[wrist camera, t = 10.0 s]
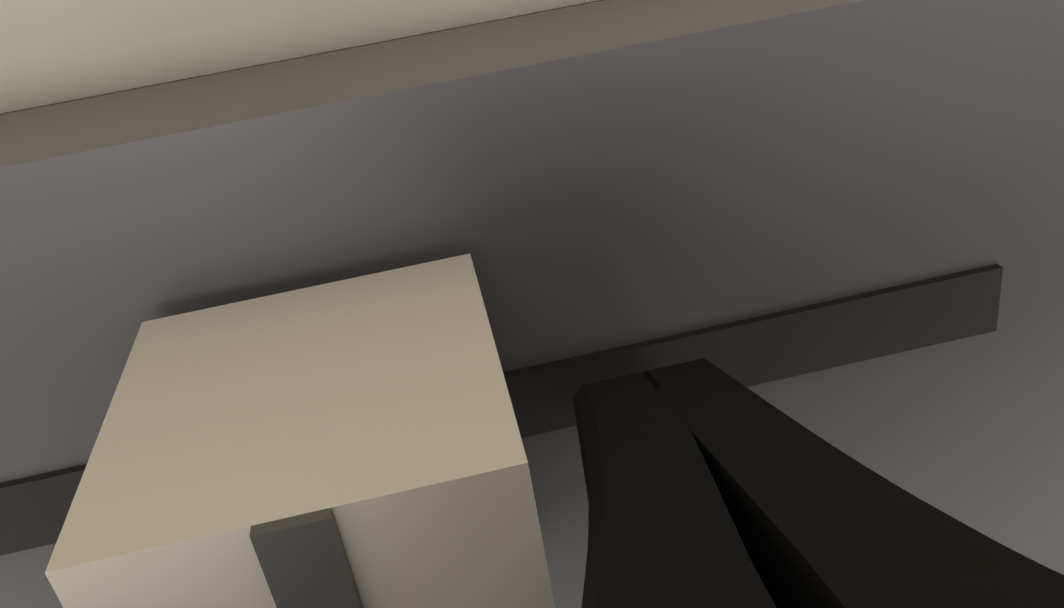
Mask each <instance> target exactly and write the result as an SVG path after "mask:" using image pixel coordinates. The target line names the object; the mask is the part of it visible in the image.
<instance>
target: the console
mask: <svg viewBox="0 0 1064 608" xmlns="http://www.w3.org/2000/svg"><path fill="white" fill-rule="evenodd" d="M465 254H470V255H471V258H472V262H473V266H474V269H475V273H476V276H477V280H478V284H479V287H480V291H481V294H482V298H483V302H484V305H485V309H486V313H487V316H488V320H489V323H490V327H491V331H492V334H493V338H494V341H495V345H496V349H497V352H498V356H499V360H500V363H501V367H502V370H503V374H504V378H505V381H506V385H507V389H508V392H509V396H510V399H511V403H512V407H513V410H514V414H515V417H516V421H517V425H518V428H519V432H520V436H521V439H522V443H523V446H524V450H525V454H526V457H527V461H528V465H529V471H530V476H531V481H532V487H533V492H534V497H535V502H536V508H537V513H538V518H539V524H540V529H541V534H542V540H543V545H544V550H545V556H546V561H547V566H548V572H549V577H550V582H551V587H552V593H553V598H554V603H555V608H582V598H583V589H584V579H585V570H586V560H587V547H588V512H589V503H588V496H587V490H586V483H585V476H584V470H583V463H582V456H581V449H580V443H579V436H578V429H577V423H576V416H575V409H574V403H573V397H574V396H575V394H576V393H577V392H578V391H579V389H580V388H581V387H582V386H583V385H584V384H589V383H593V382H598V381H602V380H607V379H611V378H616V377H620V376H625V375H630V374H634V373H639V372H643V371H648V370H652V369H657V368H661V367H666V366H670V365H675V364H680V363H684V362H689V361H693V360H698V359H702V358H705V359H706V360H708V361H709V362H711V363H712V364H714V365H715V366H717V367H718V368H719V369H721V370H722V371H724V372H725V373H727V374H728V375H730V376H731V377H733V378H734V379H735V380H737V381H738V382H740V383H741V384H743V385H744V386H746V387H747V388H749V389H750V390H751V391H753V392H754V393H756V394H757V395H759V396H760V397H762V398H763V399H764V400H766V401H767V402H769V403H770V404H772V405H773V406H775V407H776V408H778V409H779V410H780V411H782V412H783V413H785V414H786V415H788V416H789V417H791V418H792V419H794V420H795V421H797V422H798V423H800V424H801V425H803V426H804V427H806V428H807V429H809V430H810V431H812V432H813V433H815V434H816V435H818V436H819V437H821V438H822V439H824V440H825V441H827V442H828V443H830V444H831V445H833V446H834V447H836V448H837V449H839V450H841V451H842V452H844V453H845V454H847V455H849V456H850V457H852V458H853V459H855V460H857V461H858V462H860V463H861V464H863V465H864V466H866V467H868V468H869V469H871V470H872V471H874V472H876V473H877V474H879V475H881V476H882V477H884V478H885V479H887V480H889V481H890V482H892V483H894V484H896V485H897V486H899V487H901V488H902V489H904V490H906V491H907V492H909V493H911V494H912V495H914V496H916V497H917V498H919V499H921V500H923V501H924V502H926V503H928V504H930V505H932V506H933V507H935V508H937V509H939V510H941V511H942V512H944V513H946V514H948V515H950V516H951V517H953V518H955V519H957V520H959V521H960V522H962V523H964V524H966V525H968V526H969V527H971V528H973V529H975V530H977V531H978V532H980V533H982V534H984V535H986V536H987V537H989V538H991V539H993V540H995V541H997V542H998V543H1000V544H1002V545H1004V546H1006V547H1008V548H1010V549H1012V550H1014V551H1016V552H1018V553H1020V554H1022V555H1024V556H1026V557H1028V558H1030V559H1032V560H1034V561H1036V562H1038V563H1039V564H1041V565H1043V566H1045V567H1048V568H1050V569H1052V570H1054V571H1056V572H1058V573H1060V574H1062V575H1064V0H602V1H597V2H591V3H586V4H581V5H576V6H570V7H565V8H560V9H554V10H549V11H544V12H539V13H533V14H528V15H523V16H518V17H512V18H507V19H502V20H496V21H491V22H486V23H481V24H475V25H470V26H465V27H460V28H454V29H449V30H444V31H438V32H433V33H428V34H423V35H417V36H412V37H407V38H402V39H396V40H391V41H386V42H380V43H375V44H370V45H365V46H359V47H354V48H349V49H344V50H338V51H333V52H328V53H322V54H317V55H312V56H307V57H301V58H296V59H291V60H286V61H280V62H275V63H270V64H264V65H259V66H254V67H249V68H243V69H238V70H233V71H227V72H222V73H217V74H212V75H206V76H201V77H196V78H191V79H185V80H180V81H175V82H169V83H164V84H159V85H154V86H148V87H143V88H138V89H133V90H127V91H122V92H117V93H111V94H106V95H101V96H96V97H90V98H85V99H80V100H75V101H69V102H64V103H59V104H53V105H48V106H43V107H38V108H32V109H27V110H22V111H17V112H11V113H6V114H1V115H0V608H63V606H62V604H61V603H60V601H59V599H58V597H57V595H56V593H55V591H54V589H53V588H52V586H51V584H50V582H49V580H48V578H47V576H46V575H45V571H46V568H47V566H48V563H49V560H50V558H51V555H52V553H53V550H54V548H55V545H56V542H57V540H58V537H59V535H60V532H61V530H62V527H63V524H64V522H65V519H66V517H67V514H68V512H69V509H70V506H71V504H72V501H73V499H74V496H75V493H76V491H77V488H78V486H79V483H80V481H81V478H82V475H83V473H84V470H85V468H86V465H87V463H88V460H89V457H90V455H91V452H92V450H93V447H94V445H95V442H96V439H97V437H98V434H99V432H100V429H101V427H102V424H103V421H104V419H105V416H106V414H107V411H108V409H109V406H110V403H111V401H112V398H113V396H114V393H115V391H116V388H117V385H118V383H119V380H120V378H121V375H122V373H123V370H124V367H125V365H126V362H127V360H128V357H129V355H130V352H131V349H132V347H133V344H134V342H135V339H136V337H137V334H138V331H139V329H140V326H141V324H142V322H144V321H149V320H154V319H159V318H164V317H168V316H173V315H178V314H183V313H187V312H192V311H197V310H202V309H207V308H211V307H216V306H221V305H226V304H230V303H235V302H240V301H245V300H250V299H254V298H259V297H264V296H269V295H274V294H278V293H283V292H288V291H293V290H297V289H302V288H307V287H312V286H317V285H321V284H326V283H331V282H336V281H340V280H345V279H350V278H355V277H360V276H364V275H369V274H374V273H379V272H384V271H388V270H393V269H398V268H403V267H407V266H412V265H417V264H422V263H427V262H431V261H436V260H441V259H446V258H450V257H455V256H460V255H465Z"/></svg>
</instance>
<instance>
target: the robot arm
mask: <svg viewBox="0 0 1064 608" xmlns="http://www.w3.org/2000/svg"><path fill="white" fill-rule="evenodd" d="M573 403H574V409H575V416H576V423H577V429H578V436H579V443H580V449H581V456H582V463H583V470H584V476H585V483H586V490H587V496H588V503H589V512H588V547H587V560H586V570H585V579H584V589H583V598H582V608H1064V575H1062V574H1060V573H1058V572H1056V571H1054V570H1052V569H1050V568H1048V567H1045V566H1043V565H1041V564H1039V563H1038V562H1036V561H1034V560H1032V559H1030V558H1028V557H1026V556H1024V555H1022V554H1020V553H1018V552H1016V551H1014V550H1012V549H1010V548H1008V547H1006V546H1004V545H1002V544H1000V543H998V542H997V541H995V540H993V539H991V538H989V537H987V536H986V535H984V534H982V533H980V532H978V531H977V530H975V529H973V528H971V527H969V526H968V525H966V524H964V523H962V522H960V521H959V520H957V519H955V518H953V517H951V516H950V515H948V514H946V513H944V512H942V511H941V510H939V509H937V508H935V507H933V506H932V505H930V504H928V503H926V502H924V501H923V500H921V499H919V498H917V497H916V496H914V495H912V494H911V493H909V492H907V491H906V490H904V489H902V488H901V487H899V486H897V485H896V484H894V483H892V482H890V481H889V480H887V479H885V478H884V477H882V476H881V475H879V474H877V473H876V472H874V471H872V470H871V469H869V468H868V467H866V466H864V465H863V464H861V463H860V462H858V461H857V460H855V459H853V458H852V457H850V456H849V455H847V454H845V453H844V452H842V451H841V450H839V449H837V448H836V447H834V446H833V445H831V444H830V443H828V442H827V441H825V440H824V439H822V438H821V437H819V436H818V435H816V434H815V433H813V432H812V431H810V430H809V429H807V428H806V427H804V426H803V425H801V424H800V423H798V422H797V421H795V420H794V419H792V418H791V417H789V416H788V415H786V414H785V413H783V412H782V411H780V410H779V409H778V408H776V407H775V406H773V405H772V404H770V403H769V402H767V401H766V400H764V399H763V398H762V397H760V396H759V395H757V394H756V393H754V392H753V391H751V390H750V389H749V388H747V387H746V386H744V385H743V384H741V383H740V382H738V381H737V380H735V379H734V378H733V377H731V376H730V375H728V374H727V373H725V372H724V371H722V370H721V369H719V368H718V367H717V366H715V365H714V364H712V363H711V362H709V361H708V360H706V359H705V358H702V359H698V360H693V361H689V362H684V363H680V364H675V365H670V366H666V367H661V368H657V369H652V370H648V371H643V372H639V373H634V374H630V375H625V376H620V377H616V378H611V379H607V380H602V381H598V382H593V383H589V384H584V385H583V386H582V387H581V388H580V389H579V391H578V392H577V393H576V394H575V396H574V397H573Z"/></svg>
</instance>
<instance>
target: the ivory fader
mask: <svg viewBox="0 0 1064 608" xmlns="http://www.w3.org/2000/svg"><path fill="white" fill-rule="evenodd" d="M45 575H46V576H47V578H48V580H49V582H50V584H51V586H52V588H53V589H54V591H55V593H56V595H57V597H58V599H59V601H60V603H61V604H62V606H63V608H555V603H554V598H553V593H552V587H551V582H550V577H549V572H548V566H547V561H546V556H545V550H544V545H543V540H542V534H541V529H540V524H539V518H538V513H537V508H536V502H535V497H534V492H533V487H532V481H531V476H530V471H529V465H528V461H527V457H526V454H525V450H524V446H523V443H522V439H521V436H520V432H519V428H518V425H517V421H516V417H515V414H514V410H513V407H512V403H511V399H510V396H509V392H508V389H507V385H506V381H505V378H504V374H503V370H502V367H501V363H500V360H499V356H498V352H497V349H496V345H495V341H494V338H493V334H492V331H491V327H490V323H489V320H488V316H487V313H486V309H485V305H484V302H483V298H482V294H481V291H480V287H479V284H478V280H477V276H476V273H475V269H474V266H473V262H472V258H471V255H470V254H465V255H460V256H455V257H450V258H446V259H441V260H436V261H431V262H427V263H422V264H417V265H412V266H407V267H403V268H398V269H393V270H388V271H384V272H379V273H374V274H369V275H364V276H360V277H355V278H350V279H345V280H340V281H336V282H331V283H326V284H321V285H317V286H312V287H307V288H302V289H297V290H293V291H288V292H283V293H278V294H274V295H269V296H264V297H259V298H254V299H250V300H245V301H240V302H235V303H230V304H226V305H221V306H216V307H211V308H207V309H202V310H197V311H192V312H187V313H183V314H178V315H173V316H168V317H164V318H159V319H154V320H149V321H144V322H142V324H141V326H140V329H139V331H138V334H137V337H136V339H135V342H134V344H133V347H132V349H131V352H130V355H129V357H128V360H127V362H126V365H125V367H124V370H123V373H122V375H121V378H120V380H119V383H118V385H117V388H116V391H115V393H114V396H113V398H112V401H111V403H110V406H109V409H108V411H107V414H106V416H105V419H104V421H103V424H102V427H101V429H100V432H99V434H98V437H97V439H96V442H95V445H94V447H93V450H92V452H91V455H90V457H89V460H88V463H87V465H86V468H85V470H84V473H83V475H82V478H81V481H80V483H79V486H78V488H77V491H76V493H75V496H74V499H73V501H72V504H71V506H70V509H69V512H68V514H67V517H66V519H65V522H64V524H63V527H62V530H61V532H60V535H59V537H58V540H57V542H56V545H55V548H54V550H53V553H52V555H51V558H50V560H49V563H48V566H47V568H46V571H45Z"/></svg>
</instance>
